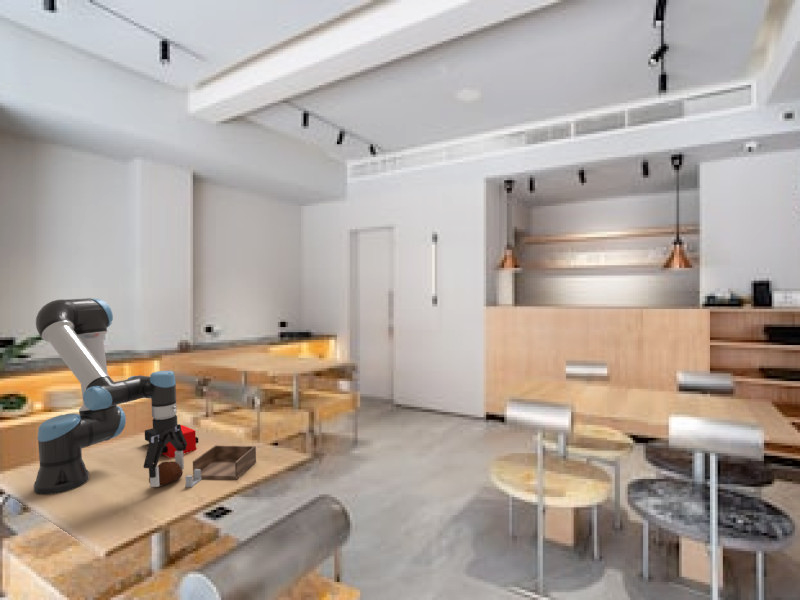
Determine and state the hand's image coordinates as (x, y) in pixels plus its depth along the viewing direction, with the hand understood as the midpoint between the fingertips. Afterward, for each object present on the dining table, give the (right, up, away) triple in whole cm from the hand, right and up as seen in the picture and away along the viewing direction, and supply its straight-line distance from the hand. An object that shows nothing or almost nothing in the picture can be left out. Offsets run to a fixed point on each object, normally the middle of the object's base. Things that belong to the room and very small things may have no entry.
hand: (167, 477), depth 151 cm
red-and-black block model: (-18, -2, +35) cm, 39 cm away
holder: (+16, -2, +11) cm, 19 cm away
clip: (+9, -2, 0) cm, 9 cm away
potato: (0, -3, 0) cm, 3 cm away
